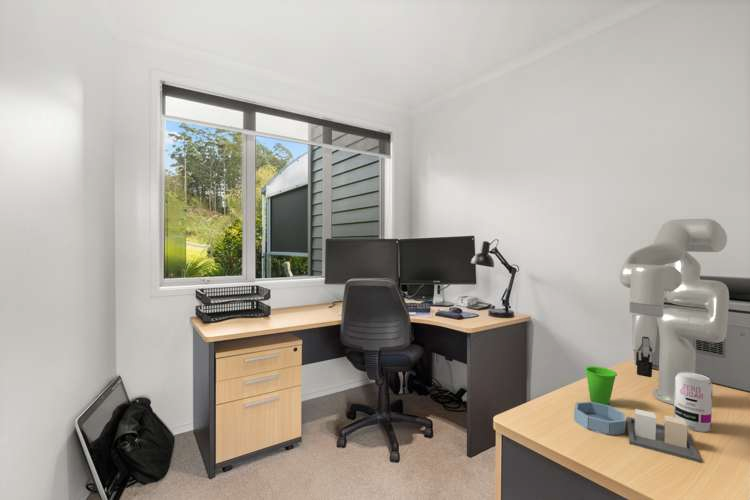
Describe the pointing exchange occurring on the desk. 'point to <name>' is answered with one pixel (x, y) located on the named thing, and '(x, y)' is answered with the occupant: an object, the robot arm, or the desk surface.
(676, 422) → the beige rectangular block
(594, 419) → the bowl
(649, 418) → the white block
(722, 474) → the desk surface
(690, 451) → the tray
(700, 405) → the supplement can
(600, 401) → the cup
